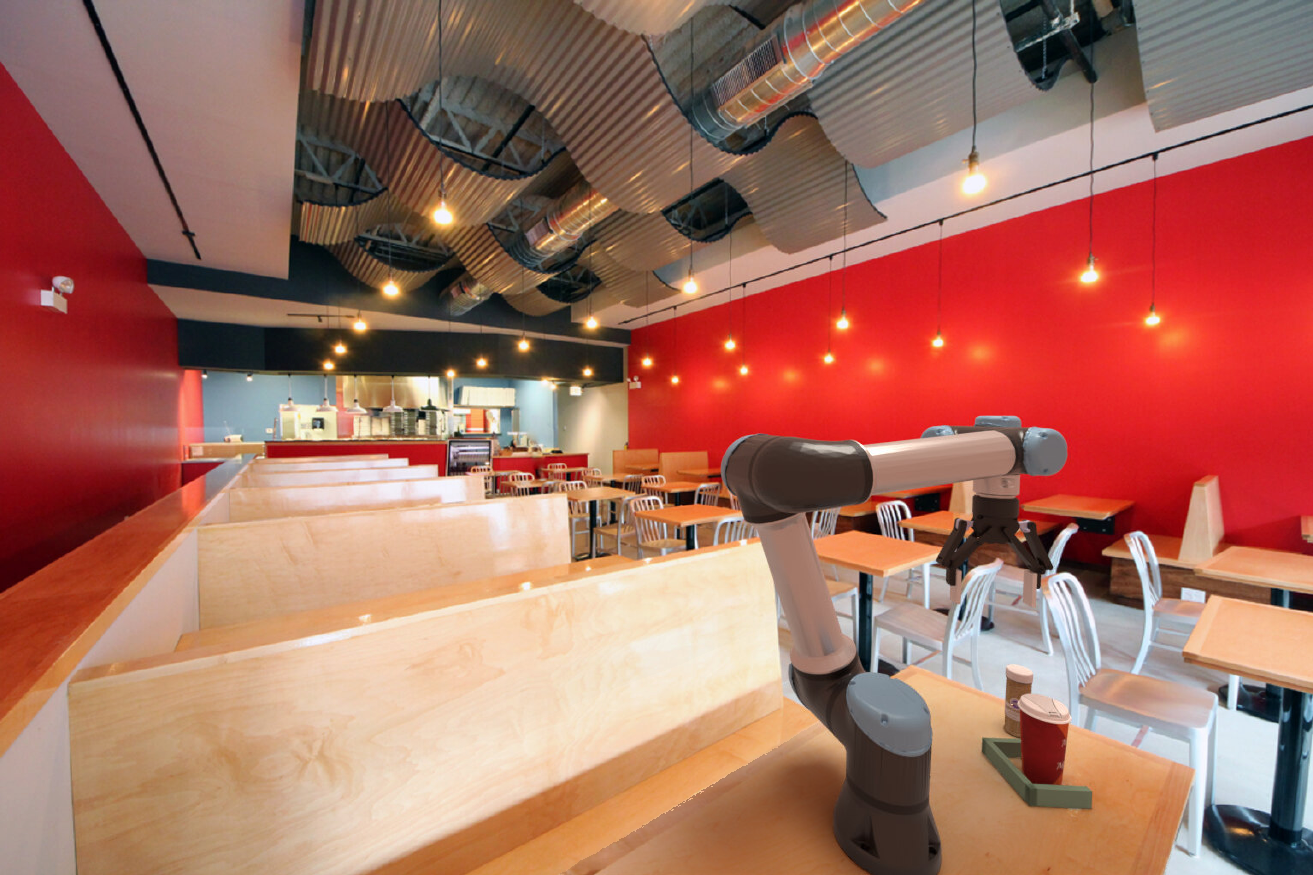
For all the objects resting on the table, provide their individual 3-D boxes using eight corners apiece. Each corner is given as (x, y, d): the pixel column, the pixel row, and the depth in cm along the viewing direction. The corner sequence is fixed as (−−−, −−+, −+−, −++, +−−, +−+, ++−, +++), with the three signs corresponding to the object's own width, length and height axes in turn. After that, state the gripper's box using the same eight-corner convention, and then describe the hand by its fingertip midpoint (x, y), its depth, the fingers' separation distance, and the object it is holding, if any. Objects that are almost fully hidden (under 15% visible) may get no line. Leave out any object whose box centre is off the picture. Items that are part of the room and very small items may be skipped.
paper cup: (1079, 798, 85) (1082, 718, 85) (1028, 791, 87) (1031, 713, 86) (1052, 766, 93) (1055, 693, 92) (1006, 761, 94) (1009, 689, 94)
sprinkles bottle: (1004, 734, 102) (1007, 670, 102) (1002, 722, 106) (1004, 661, 106) (1032, 741, 100) (1034, 676, 99) (1029, 729, 104) (1031, 666, 103)
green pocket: (1029, 805, 83) (1030, 788, 83) (981, 752, 97) (982, 737, 97) (1091, 808, 83) (1092, 791, 83) (1035, 754, 96) (1035, 739, 96)
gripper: (936, 496, 94) (933, 607, 95) (1079, 499, 91) (1075, 613, 92) (919, 491, 101) (916, 593, 102) (1051, 493, 99) (1047, 599, 99)
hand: (991, 603), depth 97 cm, fingers open, 13 cm apart
